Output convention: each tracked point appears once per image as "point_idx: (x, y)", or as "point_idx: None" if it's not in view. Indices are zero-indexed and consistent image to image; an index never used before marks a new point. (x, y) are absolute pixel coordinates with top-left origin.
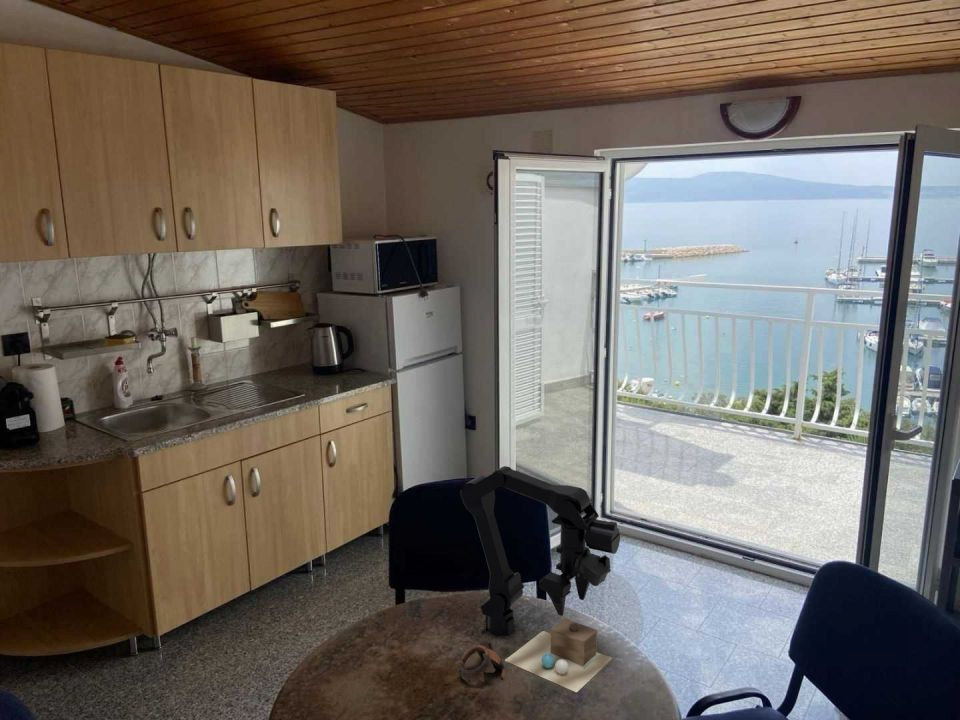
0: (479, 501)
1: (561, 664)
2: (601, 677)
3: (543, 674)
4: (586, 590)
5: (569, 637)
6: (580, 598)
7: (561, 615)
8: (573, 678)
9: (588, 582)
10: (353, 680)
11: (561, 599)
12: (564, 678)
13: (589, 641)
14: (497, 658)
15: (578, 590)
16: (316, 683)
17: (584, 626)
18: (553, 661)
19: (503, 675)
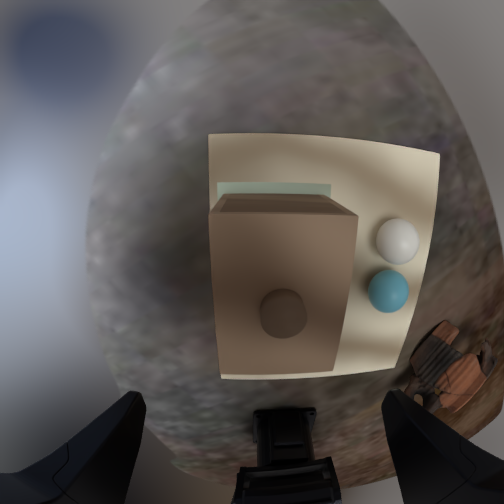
0: None
1: (418, 240)
2: (315, 124)
3: (414, 271)
4: (96, 430)
5: (347, 290)
6: (143, 408)
7: (398, 391)
8: (395, 189)
9: (61, 474)
10: (463, 426)
11: (498, 461)
12: (407, 213)
13: (288, 208)
14: (469, 365)
15: (133, 454)
16: (468, 433)
17: (221, 283)
18: (395, 274)
19: (456, 331)
